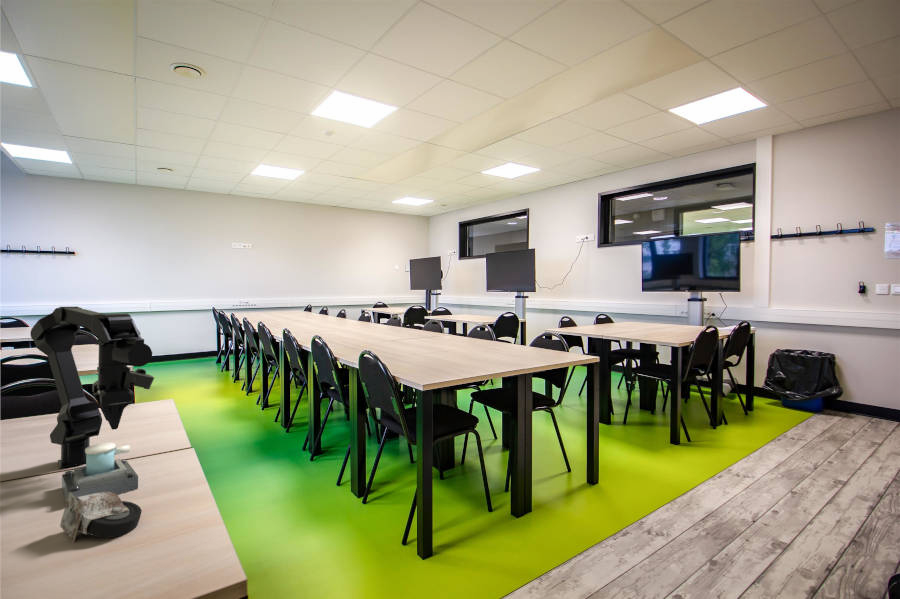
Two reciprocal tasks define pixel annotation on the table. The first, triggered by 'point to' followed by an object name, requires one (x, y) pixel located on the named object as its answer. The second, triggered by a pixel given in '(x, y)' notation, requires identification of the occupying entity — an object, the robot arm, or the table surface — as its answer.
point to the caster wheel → (99, 515)
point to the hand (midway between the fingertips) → (111, 424)
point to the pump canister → (102, 457)
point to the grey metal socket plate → (100, 480)
